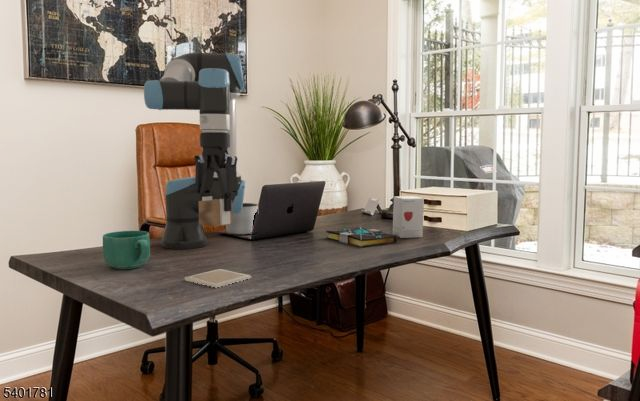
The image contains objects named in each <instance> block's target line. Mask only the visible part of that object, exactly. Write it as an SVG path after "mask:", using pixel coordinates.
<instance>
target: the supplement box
mask: <svg viewBox="0 0 640 401" xmlns="http://www.w3.org/2000/svg"><path fill="white" fill-rule="evenodd" d="M424 202H425V200H424V198H423V197H419V196H416V195H415V196H414V195H411V196H410V195H405V196H403V195H401V196H398V195H397V196H393V210H392V212H393V213H392V234H398V238H400V239H410V238H411V239H412V238H423V236H424V235H423V230H424V204H425V203H424Z"/></svg>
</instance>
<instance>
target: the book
mask: <svg viewBox="0 0 640 401" xmlns="http://www.w3.org/2000/svg"><path fill="white" fill-rule="evenodd" d="M325 232H326V233H327V234H328V236H326V238H325V239H326V240H327V239H328V240H332V241H337V242H340V243H343V244H349V245H353V246H356V247H359V248H367V247H371V246H372V247H373V246H378V245H385V244H398V243H399V237H398V234H393V233H387V232H383V231H382V230H381V229H376V228H370V229H368V228H364V227H361V226H359V227H355V228H347V227H343V228H342V229H339V230H333V229H326V230H325Z"/></svg>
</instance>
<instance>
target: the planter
mask: <svg viewBox="0 0 640 401" xmlns="http://www.w3.org/2000/svg"><path fill="white" fill-rule="evenodd" d="M257 209H258V210H259V204H258V203H251V202H243V206H242V211H241V212H240V213H238V214H233V224H230V225H225V227H226V230H225V231H226V233H227V234H228V235H231V234H246V233H251V232H252V226H253V220H254V215H255V213H256V212H257Z"/></svg>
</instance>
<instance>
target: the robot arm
mask: <svg viewBox="0 0 640 401" xmlns="http://www.w3.org/2000/svg"><path fill="white" fill-rule="evenodd" d="M241 60H242V59H241V57H240V56H239V55H238V54H236V53H229V52H224V53H223V52H188V53H185V54H181V55H179V56H176V57H174V58H173V59H171V60H170V61H169V62H168V63H167V64H166V66H165V68H164V71H163V72H164V74H163V76H162V77H161V78H160V80H158V79H154V80H146V82H145V83H144V86H143V97H144V98H143V99H144V104H145V106H146V108H148V109H149V110H158V111H162V110H163V111H164V110H166V111H168V110H177V111H179V110H182V111H183V110H184V111H185V110H186V111H187V110H188V111H198V112H199V130H200V131H202V132H200V133H199V147H200V148H202V153H201V154H200V155H194V162H195V175H194V176H189V177H181V178H176V179H170V180H168V181H166V184H165V194H164V196H165V216H166V217H165V218H166V219H165V223H166V224H165V227H164V230H163V235H162V237H161V247H162V248H165V249H173V250H174V249H175V250H187V249H196V248H202V247H204V246H207V244H208V243H207V242H208V240H207V239H208V238H207V235H206V233H205V228H204V225H199V201H205V200H215V199H218V200H220V225H223V226H226V225H225V224H230V211H231V201H232V206H233V214H238V213H240V212H241V211H242V206H243V203H244V198H245V190H246V189H245V188H246V181H245V180H243V179H242V174H241V173H240V172H239V171H238V169H237V168H238V166H237V163H238V156H237V99H239V97H240V96H241V91H242V90H244V89H245V82H244V74H243V73H244V72H243V67H242V66H243V65H242V61H241Z"/></svg>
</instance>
